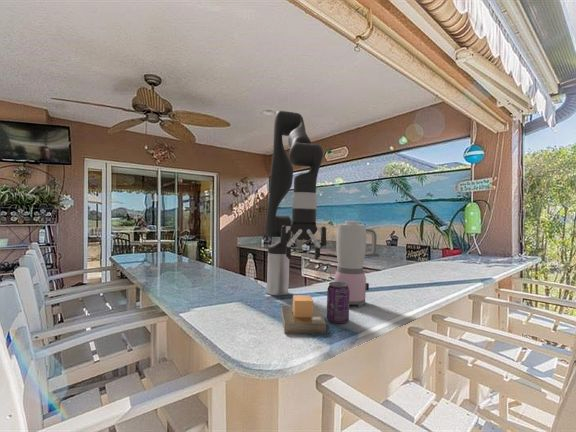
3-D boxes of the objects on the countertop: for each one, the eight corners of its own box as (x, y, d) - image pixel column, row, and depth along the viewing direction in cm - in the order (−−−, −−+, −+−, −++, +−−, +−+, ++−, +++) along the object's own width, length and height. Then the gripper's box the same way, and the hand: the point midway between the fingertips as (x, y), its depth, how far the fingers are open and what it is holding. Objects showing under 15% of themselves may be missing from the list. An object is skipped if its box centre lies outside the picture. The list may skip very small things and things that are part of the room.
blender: (332, 306, 112) (334, 220, 112) (333, 297, 124) (336, 220, 124) (375, 310, 109) (378, 222, 109) (373, 300, 121) (375, 221, 121)
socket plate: (281, 314, 101) (281, 303, 101) (316, 314, 102) (316, 304, 102) (284, 333, 86) (284, 321, 85) (325, 333, 86) (326, 321, 86)
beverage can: (333, 315, 102) (334, 280, 102) (352, 320, 98) (353, 283, 98) (322, 320, 97) (323, 283, 97) (341, 326, 92) (342, 287, 92)
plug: (292, 318, 97) (292, 295, 97) (309, 318, 97) (310, 295, 97) (294, 325, 91) (294, 300, 91) (312, 325, 91) (313, 300, 91)
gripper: (324, 208, 98) (322, 257, 98) (280, 207, 97) (279, 256, 97) (329, 208, 91) (327, 261, 91) (282, 206, 89) (280, 260, 90)
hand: (302, 259), depth 94 cm, fingers open, 8 cm apart
